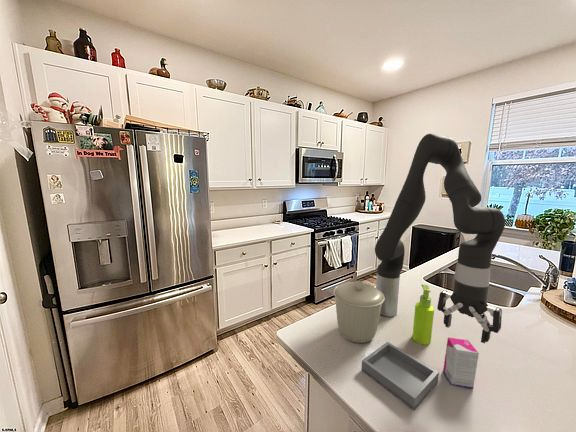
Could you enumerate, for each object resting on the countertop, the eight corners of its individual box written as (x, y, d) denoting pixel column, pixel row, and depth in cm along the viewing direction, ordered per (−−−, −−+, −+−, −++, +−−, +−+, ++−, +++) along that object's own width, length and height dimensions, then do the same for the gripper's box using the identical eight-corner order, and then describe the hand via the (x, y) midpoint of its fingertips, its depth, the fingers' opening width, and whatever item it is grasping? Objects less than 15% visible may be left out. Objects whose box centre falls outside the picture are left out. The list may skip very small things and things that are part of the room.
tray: (361, 370, 74) (362, 360, 73) (386, 350, 82) (387, 341, 82) (413, 410, 61) (415, 398, 61) (437, 382, 70) (438, 372, 69)
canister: (389, 332, 92) (393, 281, 88) (368, 359, 79) (372, 299, 75) (346, 314, 104) (348, 268, 100) (322, 334, 91) (324, 282, 87)
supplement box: (474, 389, 67) (479, 353, 65) (450, 385, 68) (455, 350, 67) (463, 373, 73) (468, 339, 71) (442, 370, 74) (446, 336, 72)
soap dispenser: (428, 334, 91) (433, 284, 87) (432, 346, 84) (438, 293, 81) (410, 331, 93) (415, 282, 89) (413, 342, 86) (418, 290, 83)
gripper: (509, 285, 62) (500, 341, 65) (447, 268, 73) (442, 317, 76) (501, 293, 58) (492, 354, 60) (437, 275, 69) (432, 326, 72)
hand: (464, 333), depth 68 cm, fingers open, 8 cm apart
